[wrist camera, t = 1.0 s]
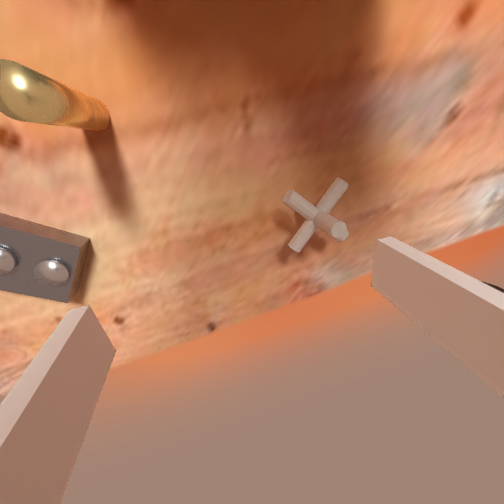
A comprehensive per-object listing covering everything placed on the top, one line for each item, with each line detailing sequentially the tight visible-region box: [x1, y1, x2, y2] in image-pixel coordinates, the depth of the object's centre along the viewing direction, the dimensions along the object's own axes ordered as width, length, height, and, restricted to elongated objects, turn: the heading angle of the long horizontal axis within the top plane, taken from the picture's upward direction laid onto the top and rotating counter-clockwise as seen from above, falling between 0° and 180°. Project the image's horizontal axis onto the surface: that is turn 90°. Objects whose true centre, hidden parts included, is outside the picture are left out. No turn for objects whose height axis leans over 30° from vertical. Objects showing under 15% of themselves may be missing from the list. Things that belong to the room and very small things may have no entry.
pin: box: [0, 59, 110, 131], centre depth 19 cm, size 3×3×12 cm
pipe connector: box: [282, 178, 349, 253], centre depth 29 cm, size 10×10×10 cm
